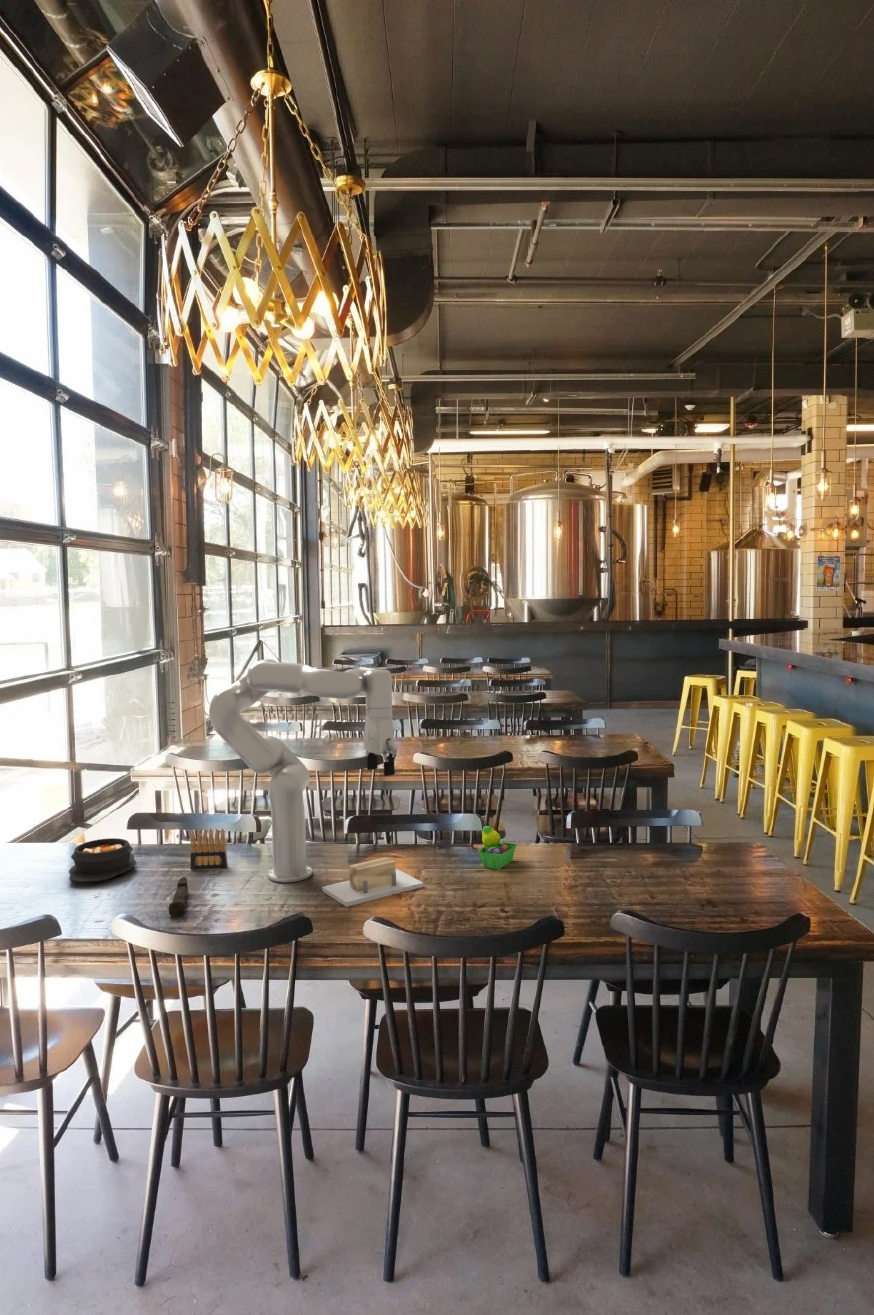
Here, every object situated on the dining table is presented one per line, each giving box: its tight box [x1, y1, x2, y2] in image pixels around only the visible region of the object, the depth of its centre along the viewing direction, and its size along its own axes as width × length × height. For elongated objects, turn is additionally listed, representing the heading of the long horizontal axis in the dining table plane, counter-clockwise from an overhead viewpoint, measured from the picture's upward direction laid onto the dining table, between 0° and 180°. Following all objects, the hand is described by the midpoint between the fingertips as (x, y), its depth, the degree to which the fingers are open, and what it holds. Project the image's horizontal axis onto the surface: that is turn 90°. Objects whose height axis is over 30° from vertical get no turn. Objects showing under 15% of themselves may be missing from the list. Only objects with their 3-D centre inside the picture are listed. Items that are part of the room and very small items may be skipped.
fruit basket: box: [477, 825, 518, 870], centre depth 243 cm, size 11×9×11 cm
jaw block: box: [348, 857, 397, 892], centre depth 224 cm, size 4×12×6 cm, turn 124°
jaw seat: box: [321, 868, 424, 908], centre depth 224 cm, size 14×24×4 cm, turn 124°
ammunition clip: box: [190, 828, 228, 871], centre depth 244 cm, size 11×2×12 cm, turn 93°
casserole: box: [68, 837, 137, 883], centre depth 241 cm, size 25×19×8 cm
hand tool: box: [168, 876, 189, 917], centre depth 217 cm, size 19×4×5 cm, turn 9°
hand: (380, 772), depth 233 cm, fingers open, 9 cm apart
